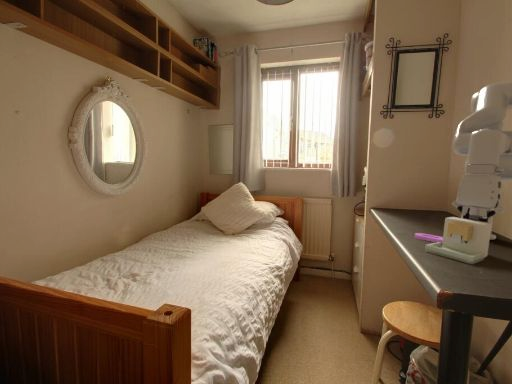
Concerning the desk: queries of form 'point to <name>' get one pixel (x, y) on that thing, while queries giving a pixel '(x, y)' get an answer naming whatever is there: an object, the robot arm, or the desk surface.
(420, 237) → the bracket
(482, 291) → the desk surface
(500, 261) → the desk surface
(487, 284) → the desk surface
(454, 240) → the grey upright plate
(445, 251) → the tray
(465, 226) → the block
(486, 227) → the block
